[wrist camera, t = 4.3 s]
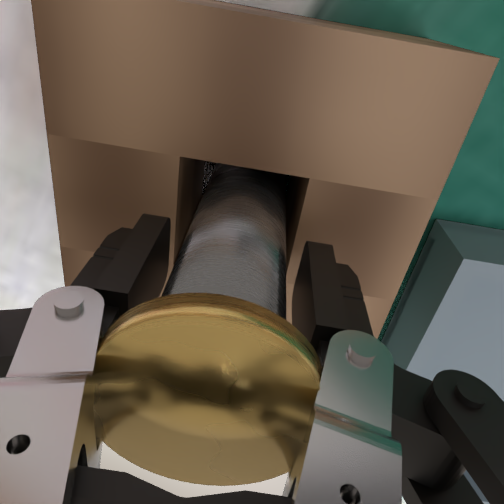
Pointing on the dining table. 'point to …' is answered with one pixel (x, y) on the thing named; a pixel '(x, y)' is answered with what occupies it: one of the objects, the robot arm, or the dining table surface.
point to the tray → (454, 308)
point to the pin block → (251, 125)
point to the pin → (214, 349)
